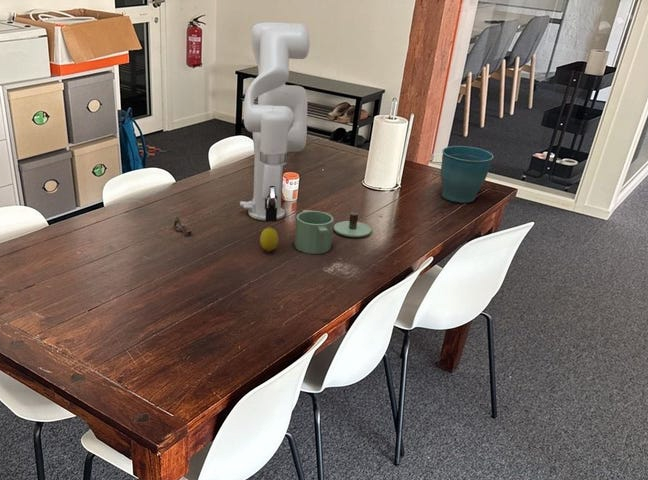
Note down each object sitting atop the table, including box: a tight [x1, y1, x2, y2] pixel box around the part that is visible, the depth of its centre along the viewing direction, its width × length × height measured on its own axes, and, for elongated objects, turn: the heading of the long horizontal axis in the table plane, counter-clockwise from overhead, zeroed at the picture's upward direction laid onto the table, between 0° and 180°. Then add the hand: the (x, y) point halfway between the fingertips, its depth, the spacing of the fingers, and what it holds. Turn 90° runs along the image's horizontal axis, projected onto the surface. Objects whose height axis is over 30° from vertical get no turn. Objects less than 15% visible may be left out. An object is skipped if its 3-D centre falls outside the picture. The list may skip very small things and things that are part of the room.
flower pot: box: [440, 145, 495, 204], centre depth 252 cm, size 18×18×17 cm
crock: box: [294, 209, 335, 255], centre depth 212 cm, size 11×17×10 cm
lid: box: [333, 211, 372, 238], centre depth 224 cm, size 12×12×6 cm
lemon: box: [259, 226, 279, 253], centre depth 208 cm, size 6×6×8 cm
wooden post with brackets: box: [172, 215, 192, 237], centre depth 220 cm, size 2×8×4 cm, turn 44°
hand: (270, 215), depth 203 cm, fingers open, 9 cm apart
